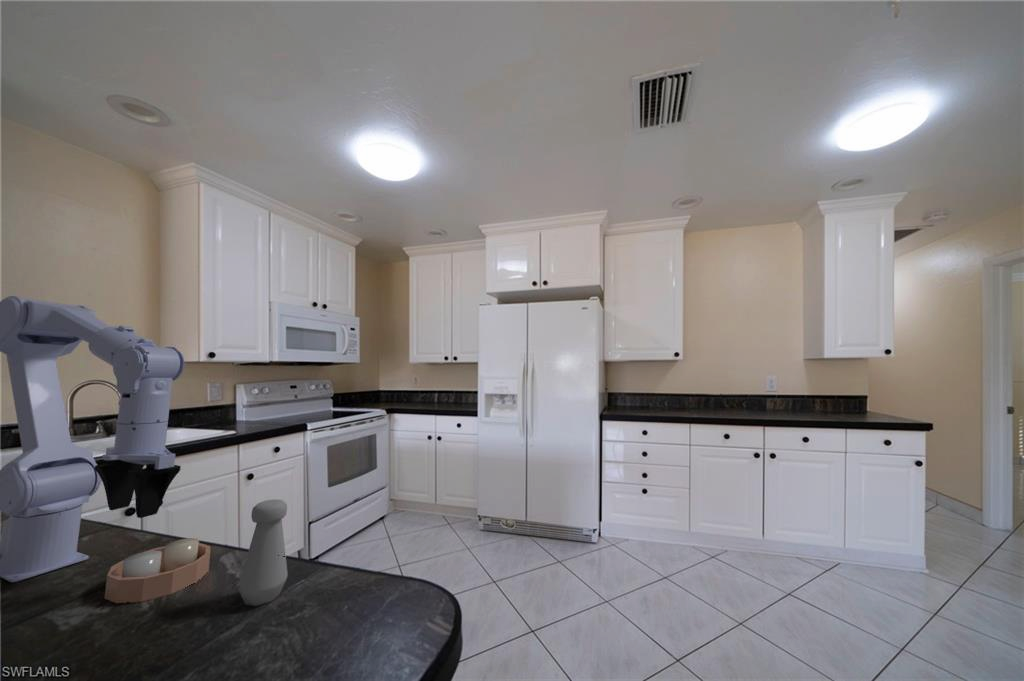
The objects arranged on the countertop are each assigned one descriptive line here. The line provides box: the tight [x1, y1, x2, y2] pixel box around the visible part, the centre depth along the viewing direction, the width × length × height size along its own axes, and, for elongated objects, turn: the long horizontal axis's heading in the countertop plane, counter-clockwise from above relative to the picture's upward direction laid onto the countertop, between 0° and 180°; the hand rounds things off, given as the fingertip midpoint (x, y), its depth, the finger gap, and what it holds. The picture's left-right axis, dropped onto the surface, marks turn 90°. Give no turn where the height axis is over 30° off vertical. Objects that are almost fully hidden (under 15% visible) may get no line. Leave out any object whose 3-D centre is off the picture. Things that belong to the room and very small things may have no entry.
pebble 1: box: [122, 550, 162, 578], centre depth 54 cm, size 4×4×4 cm
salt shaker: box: [238, 498, 288, 607], centre depth 53 cm, size 6×6×13 cm
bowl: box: [104, 542, 211, 604], centre depth 56 cm, size 11×11×3 cm
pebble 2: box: [163, 537, 200, 572], centre depth 58 cm, size 4×4×4 cm
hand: (132, 511), depth 57 cm, fingers open, 7 cm apart
